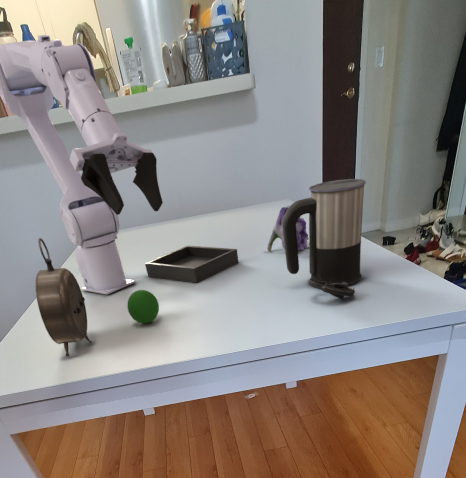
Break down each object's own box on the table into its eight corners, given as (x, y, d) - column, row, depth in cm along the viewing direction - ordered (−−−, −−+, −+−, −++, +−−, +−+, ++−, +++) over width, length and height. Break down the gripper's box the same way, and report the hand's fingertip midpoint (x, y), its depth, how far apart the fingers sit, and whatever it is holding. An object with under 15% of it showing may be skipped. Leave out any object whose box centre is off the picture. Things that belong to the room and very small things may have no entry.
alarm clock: (70, 335, 81) (31, 233, 70) (99, 330, 81) (65, 227, 70) (57, 361, 73) (10, 250, 62) (89, 356, 73) (48, 244, 62)
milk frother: (342, 268, 88) (344, 176, 78) (397, 287, 77) (407, 181, 67) (278, 288, 85) (271, 194, 75) (325, 310, 73) (325, 203, 63)
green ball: (126, 325, 81) (117, 294, 77) (148, 314, 84) (140, 283, 80) (145, 330, 78) (137, 298, 74) (168, 318, 81) (160, 286, 77)
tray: (148, 276, 102) (144, 263, 101) (189, 258, 109) (187, 245, 107) (196, 283, 94) (194, 268, 92) (238, 262, 101) (237, 248, 99)
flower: (253, 224, 97) (294, 193, 94) (259, 233, 105) (297, 205, 101) (275, 264, 99) (316, 235, 95) (279, 270, 106) (317, 243, 103)
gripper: (62, 101, 64) (109, 191, 66) (144, 107, 73) (185, 187, 74) (51, 143, 70) (95, 225, 71) (129, 144, 78) (167, 218, 80)
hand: (140, 208), depth 73 cm, fingers open, 7 cm apart
